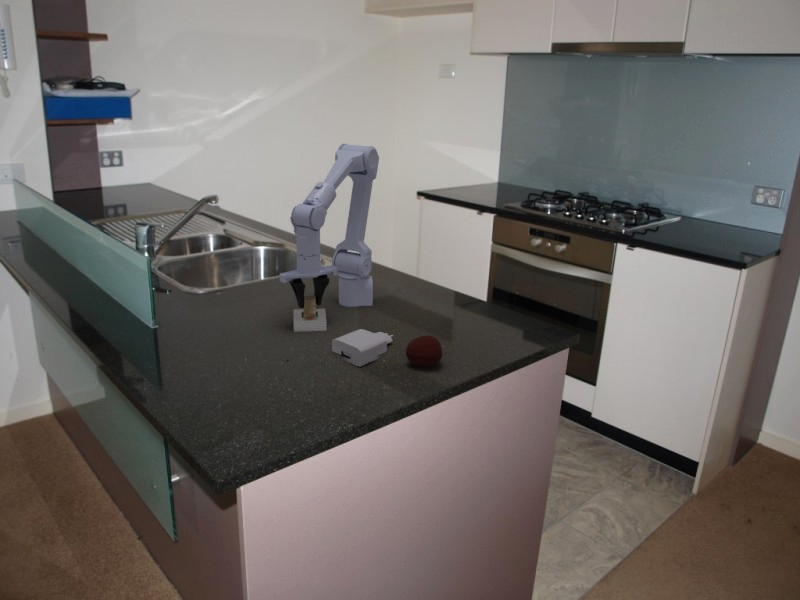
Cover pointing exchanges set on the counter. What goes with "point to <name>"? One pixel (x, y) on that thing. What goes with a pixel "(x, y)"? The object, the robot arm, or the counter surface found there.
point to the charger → (361, 346)
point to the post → (309, 307)
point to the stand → (309, 321)
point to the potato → (424, 351)
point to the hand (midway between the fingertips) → (309, 305)
